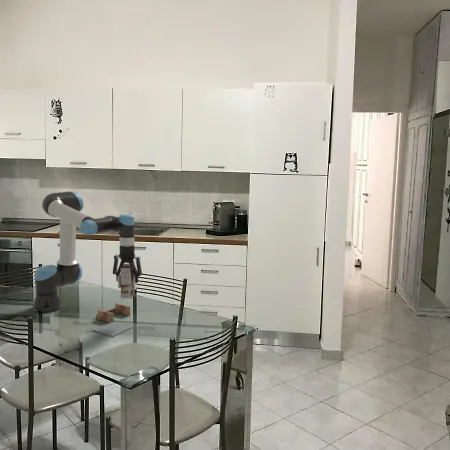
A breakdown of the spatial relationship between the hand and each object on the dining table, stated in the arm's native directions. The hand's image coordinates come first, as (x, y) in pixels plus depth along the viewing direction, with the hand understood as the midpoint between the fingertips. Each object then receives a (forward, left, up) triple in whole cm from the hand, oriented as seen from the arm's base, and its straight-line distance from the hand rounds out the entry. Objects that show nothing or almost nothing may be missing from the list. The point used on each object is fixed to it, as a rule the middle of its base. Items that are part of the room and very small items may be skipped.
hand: (127, 288), depth 262 cm
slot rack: (-11, +2, -19) cm, 22 cm away
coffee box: (0, 0, -4) cm, 4 cm away
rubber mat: (0, -11, -19) cm, 22 cm away
